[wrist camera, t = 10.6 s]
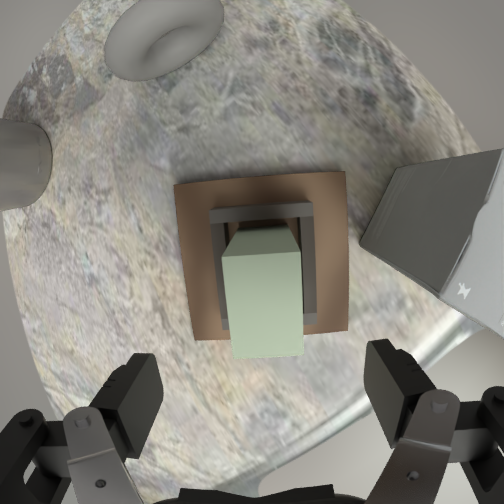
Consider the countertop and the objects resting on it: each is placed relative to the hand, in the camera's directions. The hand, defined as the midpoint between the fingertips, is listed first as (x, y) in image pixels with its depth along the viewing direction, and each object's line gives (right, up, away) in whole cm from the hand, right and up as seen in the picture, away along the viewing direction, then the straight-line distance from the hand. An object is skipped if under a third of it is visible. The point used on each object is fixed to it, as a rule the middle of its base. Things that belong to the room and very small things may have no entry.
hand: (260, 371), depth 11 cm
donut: (-7, +22, +13) cm, 27 cm away
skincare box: (+13, +8, +16) cm, 22 cm away
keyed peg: (+1, +4, +15) cm, 16 cm away
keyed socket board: (+1, +4, +17) cm, 17 cm away
